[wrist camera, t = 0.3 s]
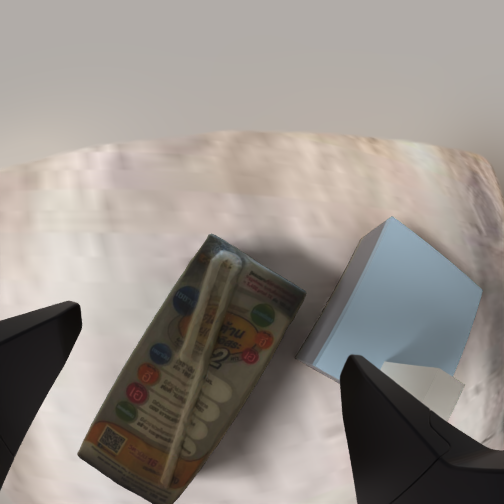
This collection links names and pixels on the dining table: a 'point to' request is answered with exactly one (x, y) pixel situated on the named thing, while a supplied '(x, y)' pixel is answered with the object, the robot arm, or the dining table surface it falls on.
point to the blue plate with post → (407, 319)
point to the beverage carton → (191, 372)
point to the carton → (338, 300)
